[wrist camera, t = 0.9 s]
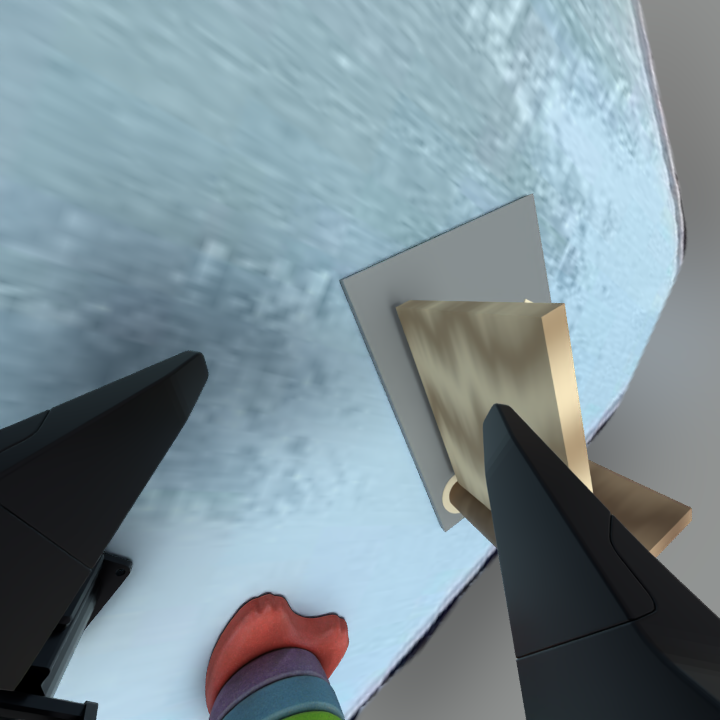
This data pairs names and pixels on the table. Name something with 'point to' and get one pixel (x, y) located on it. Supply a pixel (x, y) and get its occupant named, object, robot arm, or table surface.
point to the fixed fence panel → (619, 494)
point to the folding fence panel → (496, 377)
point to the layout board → (443, 283)
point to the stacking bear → (275, 665)
